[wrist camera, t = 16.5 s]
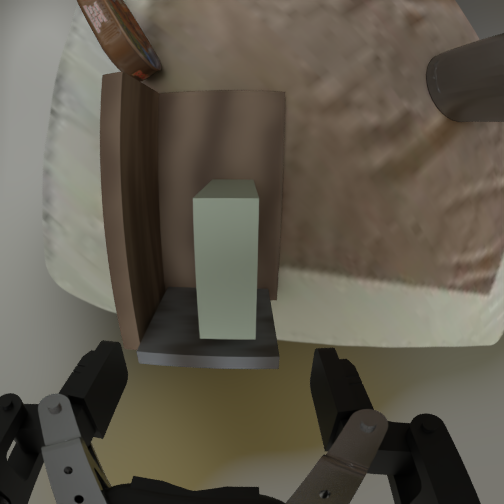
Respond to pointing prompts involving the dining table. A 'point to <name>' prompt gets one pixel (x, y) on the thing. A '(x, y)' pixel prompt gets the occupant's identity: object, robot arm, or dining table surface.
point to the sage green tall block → (226, 258)
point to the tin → (121, 37)
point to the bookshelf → (185, 212)
